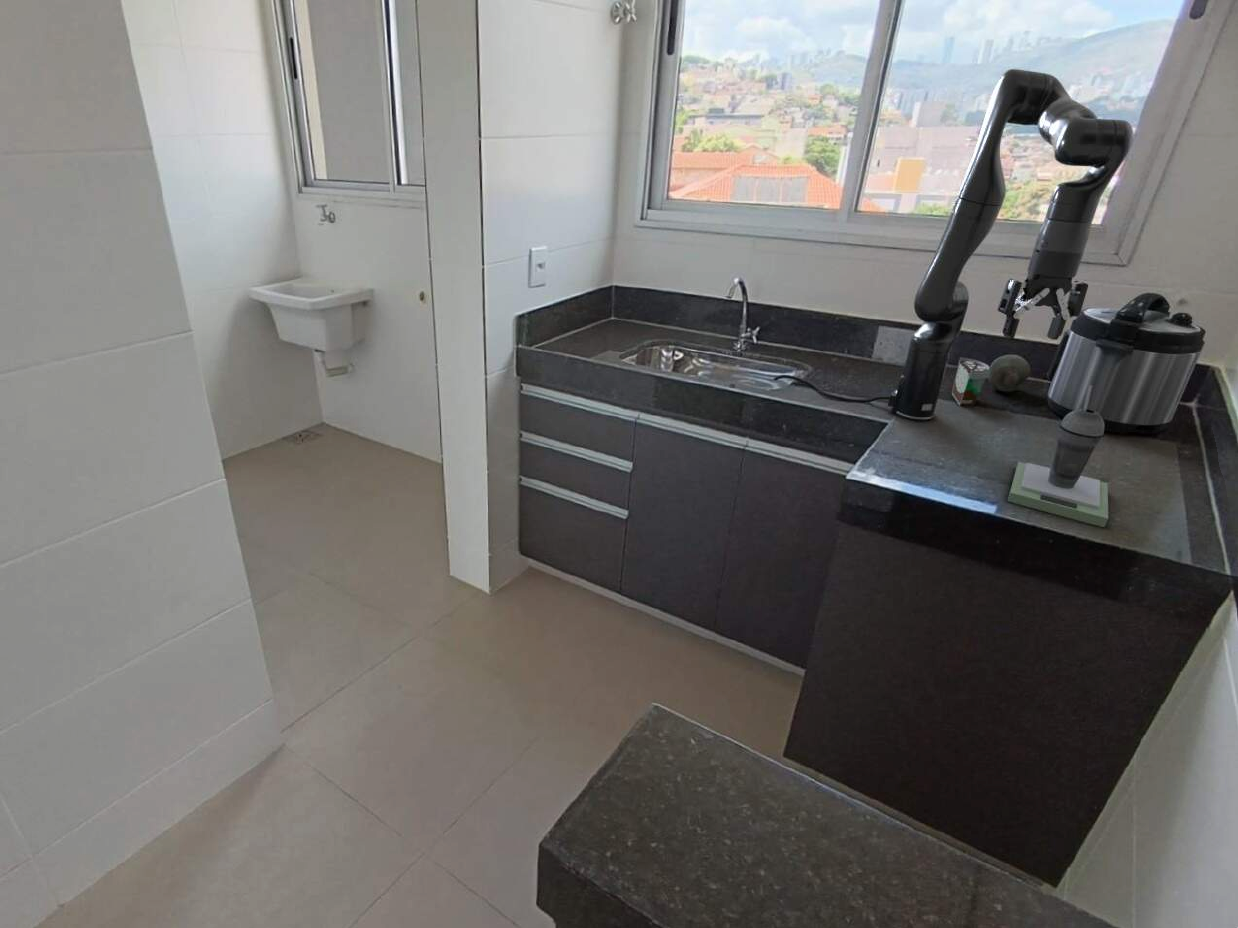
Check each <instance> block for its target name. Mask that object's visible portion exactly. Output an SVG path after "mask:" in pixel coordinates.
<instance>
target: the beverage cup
mask: <svg viewBox="0 0 1238 928" xmlns="http://www.w3.org/2000/svg"><path fill="white" fill-rule="evenodd" d="M1091 389H1092V386H1091V385H1089V388H1088V392H1087V397H1086V401H1085V405H1084V409H1077V410H1074V411H1072V412H1070V413H1069V414H1067V415H1066V416H1065V417H1063V419H1062V420H1061V422H1060V423H1059V425H1058V427H1059V429H1058V436H1057V437H1058V438H1057V442H1056V445H1055V450H1054V453H1053V458H1052V462H1051V466H1050V468H1051V469H1050V473H1049V479H1048V481H1049V483H1051V484H1052V485H1054V486H1057V487H1060V488H1065V489H1071V488H1073V487H1074V485H1075V484H1076V482H1077V481H1078V479H1079V477H1080V476H1082V474H1083V471H1084V469H1085V467H1086V466H1087V464H1088V461H1089V460H1090V458H1091V456H1092V455H1093V452H1094V450H1095V448H1096V446H1097V445H1098V444H1099V443H1100V441H1101V440H1102V437H1104V435H1105V434H1104V432H1105V430H1104V421H1103V419H1102V417H1101V416H1100V415H1099V414H1098V413H1097V412H1095V411H1093V410H1091V409H1087V406H1088V402H1089V397H1090V393H1091Z"/></svg>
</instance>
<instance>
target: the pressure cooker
mask: <svg viewBox="0 0 1238 928" xmlns="http://www.w3.org/2000/svg"><path fill="white" fill-rule="evenodd" d="M1170 309H1171V306H1170V303H1169V301H1168V300H1167V299H1166V297H1165V296H1164V295H1162V294H1160V293H1157V292H1144V293H1141V294H1139V295H1137V296H1136V297H1134V298H1132V299H1131V300H1130V301H1129V302H1128V303H1126V304H1125V305H1124V306H1123V307H1122V308H1104V307H1103V308H1101V307H1100V308H1099V307H1098V308H1093V307H1092V308H1082V309H1081V313H1080V315H1079V316H1077V317H1076V318H1075V319H1073V320H1072V322H1071V325H1070V328H1069V329H1067V330H1065V331H1064V332H1063V333H1062V337H1061V339H1060V341H1059V344H1058V346H1057V349H1056V351H1055V354H1054V356H1053V357H1052V361H1051V363H1050V365H1049V368H1048V371H1047V373H1046V376H1047V382H1050V385H1049V388H1048V391H1047V395H1046V402H1047V404H1048V408H1050V409H1051V410H1052V411H1053V412H1054V413H1056V414H1057V415H1059V416H1061V417H1063V418H1064V417H1065V416H1066V415H1067V414H1069V413H1070V412H1072V411H1074V410H1077V409H1084V405H1085V401H1086V397H1087V392H1088V388H1089V385H1091V386H1092V389H1091V393H1090V397H1089V402H1088V406H1087V409H1091V410H1093V411H1095V412H1097V413H1098V414H1099V415H1100V416H1101V417H1102V419H1103V421H1104V431H1109V432H1114V433H1119V434H1130V433H1131V432H1133V433H1137V434H1147V435H1151V434H1157V433H1160V432H1162V431H1163V430H1165V428H1167V427H1168V426H1169V425H1170V424H1171V422H1172V420H1173V418H1174V416H1175V413H1176V411H1177V408H1178V406H1179V404H1180V402H1181V399H1182V397H1183V395H1184V393H1185V391H1186V388H1187V385H1188V383H1189V380H1190V378H1191V376H1192V374H1193V372H1194V370H1195V367H1196V365H1197V363H1198V360H1199V358H1200V356H1201V353H1202V351H1203V348H1204V345H1205V341H1204V338H1205V335H1206V333H1207V331H1206V329H1204V328H1203V327H1201V326H1199V325H1196V324H1194V323H1193V320H1194V318H1193V316H1192V315H1191V314H1190V313H1188V312H1177V313H1174V314H1172V316H1171V317H1170V315H1171V311H1170Z"/></svg>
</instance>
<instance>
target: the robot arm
mask: <svg viewBox="0 0 1238 928" xmlns="http://www.w3.org/2000/svg"><path fill="white" fill-rule="evenodd" d="M1006 124H1011V125H1012V124H1013V125H1019V126H1037V130H1038V133H1039V135H1040V137H1041V138H1042V139H1043V140H1044V141H1045V142H1046V143H1048V144H1049V145H1050V146H1051V147H1052V150H1053V157H1054V160H1055V161H1056V162H1058V163H1060V164H1062V165H1064V166H1073V167H1090V168H1089V169H1088V170H1087V172H1086V173H1085V174H1084V175H1083V177H1081V178H1080V179H1077V180H1070V181H1064V182H1061V183H1058V184H1057V185H1056V186H1055V187H1054V189H1053V191H1052V194H1051V198H1050V201H1049V204H1048V207H1047V210H1046V213H1045V217H1044V219H1043V222H1042V225H1041V227H1040V229H1039V232H1038V234H1037V238H1036V241H1035V244H1034V246H1033V250H1032V254H1031V257H1030V260H1029V263H1028V267H1027V276H1026V278H1025V279H1024V280H1018V279H1014V278H1009V279H1008V280H1007V281H1006V284H1005V287H1004V289H1003V293H1002V296H1001V299H1000V301H999V304H998V307H997V311H998V312H999V313H1000V314H1001V313H1002V314H1003V315H1005V321H1004V324H1003V325H1004V326H1003V328H1002V334H1003V337H1005V339H1010V340H1014V338H1015V336H1016V333H1017V330H1018V327H1019V324H1020V319H1021V318H1020V317H1021V316H1022V315H1023V314H1025V313H1026V312H1027V311H1030V310H1031V309H1032V308H1033V307H1044V306H1046V307H1051V309H1052V311H1053V314H1054V317H1052V319H1051V322H1050V325H1049V329H1048V331H1047V334H1046V337H1047V338H1048V339H1050V340H1054V341H1055V340H1058V339H1059V338H1060V337H1061V336H1062V335H1063V333H1064V332H1063V331H1064V329H1065V326H1066V323H1067V321H1068V320H1069V319H1070V318H1073V317H1075V318H1077V316H1079V315H1080V313H1081V310H1083V305H1084V302H1085V300H1086V295H1087V292H1088V289H1089V284H1088V283H1087V282H1083V281H1079V280H1075V281H1073V278H1075V277H1076V276H1077V273H1078V271H1079V268H1080V264H1081V261H1082V259H1083V256H1084V253H1085V249H1086V247H1087V244H1088V242H1089V238H1090V234H1091V228H1092V224H1093V221H1094V218H1095V215H1096V212H1097V209H1098V205H1099V203H1100V200H1101V198H1102V197H1103V194H1104V192H1105V191H1106V189H1107V187H1108V186H1109V184H1110V183H1111V181H1112V180H1113V177H1114V176H1115V174H1116V172H1117V171H1118V170H1119V168H1120V167H1121V165H1122V164H1123V163H1124V161H1125V159H1126V158H1127V156H1128V154H1129V152H1130V151H1131V148H1132V146H1133V142H1134V129H1133V127H1132V125H1131V123H1130V122H1129V121H1126V120H1124V119H1113V118H1112V119H1110V118H1109V119H1108V118H1107V119H1106V118H1098V117H1097V115H1096V114H1095V113H1094V111H1092V110H1091V109H1090V108H1088V107H1086V106H1085V105H1083V104H1082V103H1080V102H1078V101H1076V100H1075V99H1073V98H1072V97H1071V96H1070V94H1069V92H1068V91H1067V90H1066V88H1065V87H1064V86H1063V83H1062V82H1061V81H1060V80H1059V79H1058V78H1057V77H1055V76H1054V75H1052V74H1050V73H1045V72H1039V71H1034V70H1033V71H1032V70H1027V69H1026V70H1025V69H1020V68H1019V69H1018V68H1011V69H1008V70H1007V71H1005V72H1004V73H1003V74H1002V75H1001V77H1000V78H999V79H998V81H997V83H996V85H995V87H994V90H993V92H992V95H991V97H990V100H989V103H988V106H987V110H986V113H985V116H984V119H983V122H982V126H981V130H980V133H979V135H978V139H977V141H976V145H975V149H974V152H973V154H972V157H971V160H970V162H969V165H968V168H967V169H966V173H965V175H964V178H963V180H962V183H961V185H960V187H959V189H958V192H957V195H956V197H955V199H954V203H953V204H952V207H951V210H950V214H949V216H948V218H947V219H948V220H947V222H946V225H945V227H944V230H943V233H942V235H941V238H940V239H939V243H938V246H937V248H936V251H935V254H934V255H933V259H932V260H931V262H930V264H929V266H928V269H927V270H926V273H925V275H924V277H923V279H922V281H921V283H920V285H919V286H918V289H917V291H916V294H915V296H914V301H913V302H914V303H913V308H914V312H915V314H916V316H917V318H918V319H919V320H921V321H922V322H923V323H922V325H921V326H920V327H919V328H918V329H917V330H916V331H915V332H913V333H912V336H911V338H910V341H909V346H908V350H907V355H906V360H905V364H904V367H903V372H902V375H901V376H900V377H899V381H898V386H897V389H894V390H893V392H891V394H890V395H878V396H877V395H876V396H873V397H871V398H849V397H844V396H841V395H840V396H839V395H835V394H831V393H829V392H826V391H824V390H823V389H822V388H820V387H819V386H818V385H817V384H815V383H814V382H811V381H808V380H806V379H803V378H800V377H797V376H795V375H791V374H781V375H778V376H776V377H774V378H773V379H772V380H773V381H778V380H780V379H789V380H790V379H791V380H794V381H797V382H798V383H799V382H800V383H802V384H806V385H808V386H810V387H812V388H813V389H815V390H816V391H817V392H818V393H820V394H821V395H823V396H825V397H828V398H831V399H834V400H837V401H838V400H839V401H843V402H849V403H850V402H851V403H872V402H874V401H880V400H888V403H887V407H890V408H892V411H891V413H892V414H895V415H897V416H900V417H902V418H904V419H908V420H911V421H912V420H913V421H930V420H932V419H933V418H934V415H935V411H936V406H937V403H938V400H939V396H940V393H941V390H942V389H941V388H942V385H943V380H944V377H945V374H946V370H947V367H948V362H949V359H950V355H951V351H952V348H953V345H954V344H955V342H956V341H957V339H958V338H959V335H960V333H961V330H962V327H963V324H964V320H965V317H966V314H967V310H968V307H969V301H970V294H969V290H968V288H967V286H966V284H965V283H964V282H962V281H960V276H961V274H962V272H963V269H964V268H965V266H966V265H967V262H968V261H969V259H970V258H971V257H972V256H973V254H974V253H975V252H976V251H977V249H978V248H979V247H980V246H981V244H982V243H983V242H984V241H985V239H986V238H987V237H988V235H989V234H990V232H991V231H992V229H993V227H994V225H995V224H996V221H997V219H998V216H999V214H1000V211H1001V209H1002V207H1003V204H1004V202H1005V199H1006V194H1007V193H1006V192H1007V189H1006V181H1005V180H1006V179H1005V176H1004V170H1003V166H1002V160H1001V159H1002V158H1001V143H1002V139H1003V138H1002V137H1003V135H1004V130H1005V127H1006ZM1020 293H1021V294H1020ZM1068 293H1069V296H1068V299H1066V297H1065V296H1066V295H1067V294H1068ZM1019 294H1020V295H1019ZM1019 318H1020V319H1019Z"/></svg>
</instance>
